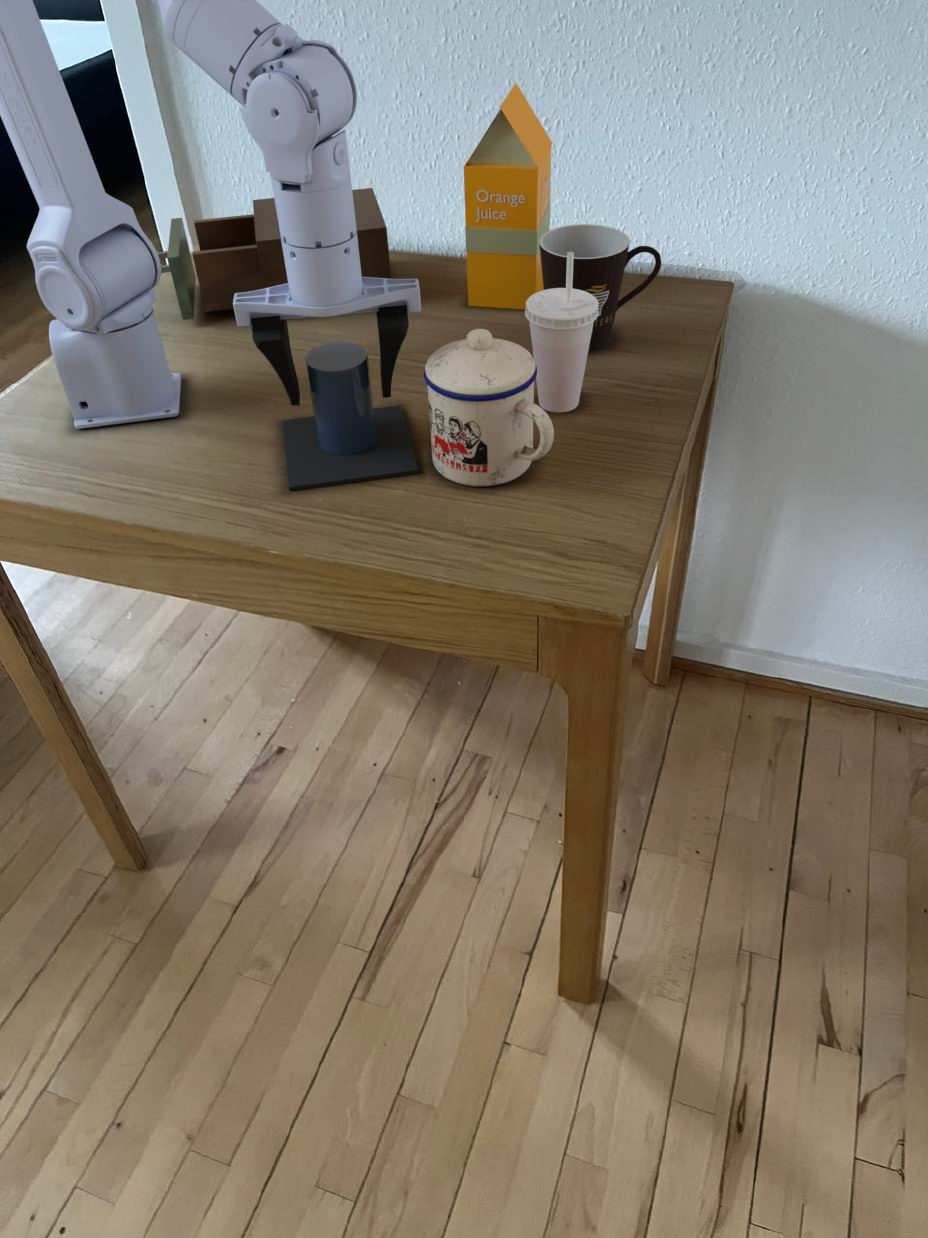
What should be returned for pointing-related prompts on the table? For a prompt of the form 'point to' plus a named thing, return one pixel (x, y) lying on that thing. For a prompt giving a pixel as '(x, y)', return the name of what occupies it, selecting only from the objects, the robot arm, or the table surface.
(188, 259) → the drawer
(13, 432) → the table surface
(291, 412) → the table surface
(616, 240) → the coffee mug
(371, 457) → the mat
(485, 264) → the orange juice
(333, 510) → the table surface
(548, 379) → the smoothie
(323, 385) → the blue-grey cylinder
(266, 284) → the cabinet
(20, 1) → the robot arm
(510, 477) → the teacup with lid
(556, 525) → the table surface
